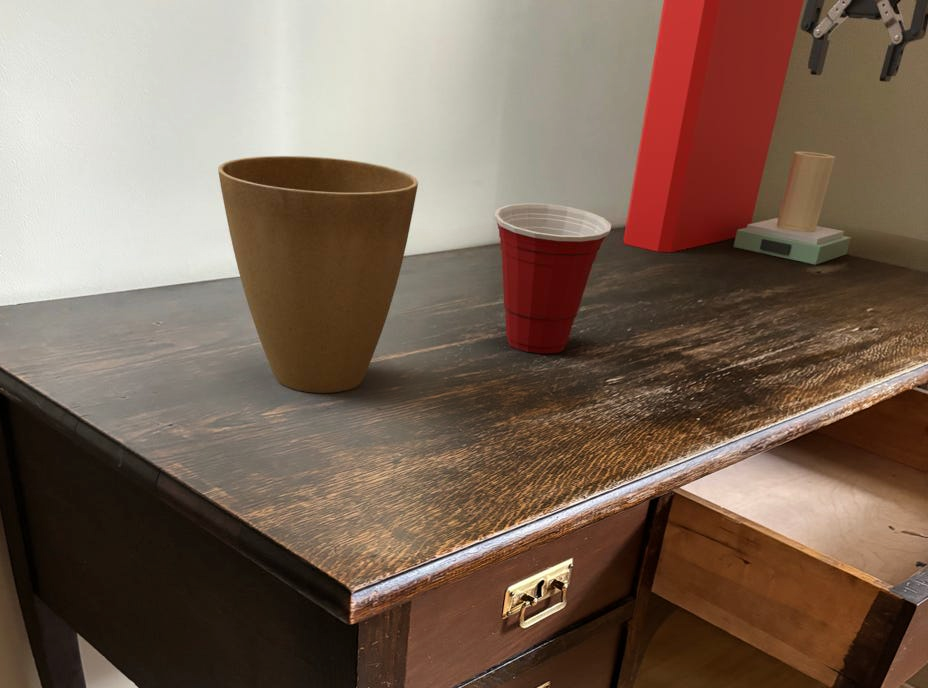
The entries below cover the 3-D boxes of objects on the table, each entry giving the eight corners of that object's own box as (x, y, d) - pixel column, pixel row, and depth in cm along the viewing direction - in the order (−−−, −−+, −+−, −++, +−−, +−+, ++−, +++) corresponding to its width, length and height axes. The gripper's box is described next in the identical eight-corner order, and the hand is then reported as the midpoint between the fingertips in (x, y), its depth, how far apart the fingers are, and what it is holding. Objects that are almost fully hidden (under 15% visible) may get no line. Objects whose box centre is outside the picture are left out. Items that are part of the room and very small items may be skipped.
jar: (820, 229, 146) (840, 156, 141) (806, 233, 142) (826, 158, 137) (785, 222, 149) (803, 150, 143) (770, 226, 145) (788, 152, 140)
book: (704, 225, 160) (752, -6, 143) (748, 234, 156) (804, -2, 139) (618, 242, 142) (661, -20, 124) (665, 253, 138) (717, -17, 120)
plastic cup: (484, 358, 90) (498, 220, 83) (478, 326, 99) (490, 199, 92) (599, 367, 90) (622, 231, 84) (583, 334, 99) (602, 208, 93)
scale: (846, 254, 149) (853, 231, 147) (814, 265, 140) (821, 241, 138) (767, 238, 155) (772, 216, 153) (731, 247, 146) (737, 224, 144)
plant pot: (212, 355, 84) (201, 152, 75) (374, 349, 90) (381, 158, 81) (248, 416, 73) (241, 186, 64) (431, 405, 78) (447, 191, 69)
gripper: (965, -83, 108) (917, 83, 117) (841, -85, 115) (804, 72, 124) (947, -90, 103) (898, 84, 112) (818, -92, 110) (782, 72, 119)
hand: (849, 78), depth 118 cm, fingers open, 8 cm apart
